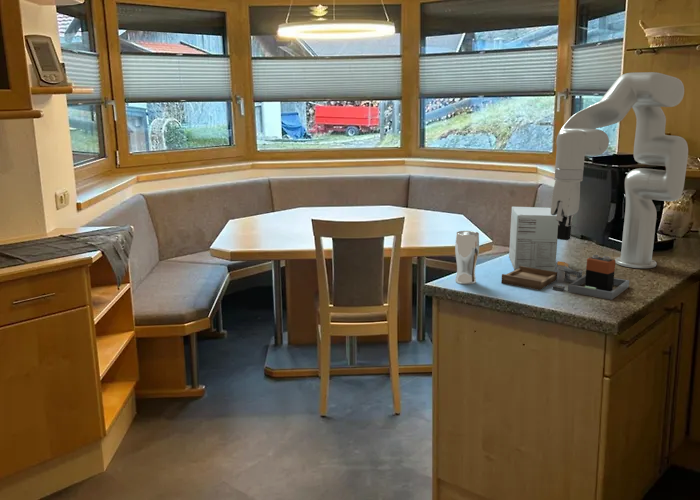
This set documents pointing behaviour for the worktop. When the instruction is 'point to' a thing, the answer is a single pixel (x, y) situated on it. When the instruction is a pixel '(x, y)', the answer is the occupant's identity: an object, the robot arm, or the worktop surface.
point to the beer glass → (466, 256)
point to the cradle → (592, 291)
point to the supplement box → (533, 238)
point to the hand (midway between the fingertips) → (563, 239)
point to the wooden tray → (530, 278)
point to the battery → (600, 272)
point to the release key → (565, 268)
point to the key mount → (568, 280)
